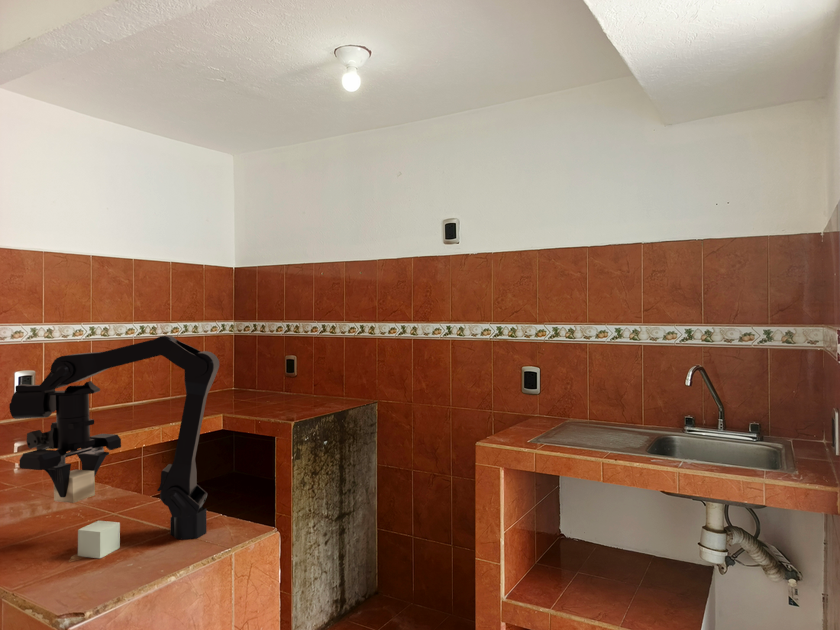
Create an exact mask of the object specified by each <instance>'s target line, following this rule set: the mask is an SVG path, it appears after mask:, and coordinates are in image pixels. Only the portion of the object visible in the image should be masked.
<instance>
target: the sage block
mask: <svg viewBox="0 0 840 630" xmlns="http://www.w3.org/2000/svg"><path fill="white" fill-rule="evenodd" d="M120 533H121V522H117V521H107V520H106V521H105V520H96V521H94V522H92V523H90V524H88V525H85V526H83V527H81V528H79V529H77V554H78V556H83V557H85V558H92V559H93V558H94V559H102V558H104V557H105V556H108V555H110V554H111V553H113V552H116V551H117V550H118V549H120V548H121V545H120V543H121V538H120V537H121V535H120Z"/></svg>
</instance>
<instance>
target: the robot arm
mask: <svg viewBox="0 0 840 630" xmlns="http://www.w3.org/2000/svg"><path fill="white" fill-rule="evenodd" d="M159 356H162V357H164V358H166V359H167V360H168V361H170V362H171V363H172V364H173V365H175V366H177V367H179V368H180V369H182V370H184V379H183V381H184V387H185V401H184V405H183V412H182V416H181V422H180V426H179V427H180V428H179V431H178V436H177V437H178V438H177V441H176V447H175V453H174V457H173V460H172V464H171V463H168V464H167V466H166V467H164V468H163V469H162V470H161V471H160V472H161V473H160V485H159V487H158V488H157V492H160V493H159V498H160V501H162V504H164V505H165V506H166V507H168V510H169V512H170V515H171V516H170V519H169V520H170V533H169V534H170V536H171V537H174V538H175V539H176V540H180V541H187V540H193V539H194V540H197V539H200V538H201V537H203V536H205V535H206V534H207V508H205V507H204V506H203V505H204V504H205V502H206V500H207V497H208V492H207V491H206V490H205V489H203V488H202V487H201V486H200V485H199V484H197V483H198V481H197V480H198V479H197V475H198V473H197V471H198V470H197V463H196V456H197V451H198V445H199V441H200V434H201V428H202V424H203V419H204V414H205V410H206V409H205V408H206V404H207V399H208V395H209V392H210V390H211V388H212V385H213V383H214V381H215V379H216V376H217V375H218V374H217V373H218V371H219V368H220V359H219V358H218V357H217V355H216V354H214V353H213V352H211V351H208V350H203V351H201V350H199V349H198V348H196V347H193V346H191V345H189V344H187V343H184V342H182V341H180V340H178V339H177V338H176V337H174V336H172V335H162V336H161V335H160V336H157V338H154V339H149V340H145V341H141V342H138V343H134V344H129V345H126V346H122V347H117V348H113V349H109V350H105V351H99V352H98V351H95V352H82V353H81V352H80V353H72V354H69V355H68V354H66V355H61V356H59V357H56V358H55V359H54V360H53V362H52V363H51V366H50V372H49V373H48V374H47V375H46V376H45V378H44V380H43V381H42V382H41V384H28V383H26V384H24V383H23V384H18V385H16V386H15V392H14V393H13V394H12V397H11V399H10V402H9V404H8V405H9V413H10V415H11V417H12V418H13V419H14V420H22V419H23V420H24V419H43V418H44V419H45V418H49V417H50V416H51V415H52V413H54V412H55V414H56V415H55V416H56V417H55V418H56V419H55V420H56V421H54V422H51V424H50V430H48V431H45V432H42V431H41V429H38V430H33V431H30V432H27V433H26V445H27V448H29V450H32V451H27V452H24V453H23V454H22V455H20V457H19V460H18V461H19V469H21V470H32V471H35V470H36V471H44V472H45V473H47V474H48V476H49V477H50V479H51V481H52V483H53V486H54V485H55V487H56V489H57V491H58V493H59V496H60V497H66V494H67V490H68V483H69V475H70V471H71V468H72V463H68V462H67V463H66V458H69V457H72V456H77V457H78V459H79V461H80V462H81V470H90V471H94V478H96V475H97V473H98V471H99V469H100V467H101V466H102V464H103V462H104V460H105V458H106V457H107V456H109V455H110V452H109V451H113V450H116V449H120V448H122V439H121V437H120V436H119V435H118V434H113V433H99V434H95V435H92V436H91V433H90V432H91V431H90V429H91V428H90V426H92V425H93V426H94V425H95V419H94V418H93V419H92V418H90V395H93V394H97V393H100V392H101V388H100V387H99V386H97V385H95V384H94V383H93V382H92V380H89V381H86V382H85V383H84V384H82V385H70V384H74V383H78V382H81V381H85V380H86V379H89V378H91V377H94V376H96V375H98V374H100V373H103V372H105V371H107V370H108V369H112V368H115V367H120V366H124V365H126V364H128V365H129V364H132V363H135V362H139V361H143V360H147V359H151V358H155V357H159ZM62 387H63V388H64V387H66V388H65V390H56V389H59V388H62ZM35 448H36V450H33V449H35ZM105 448H107V449H106V450H109V451H105Z"/></svg>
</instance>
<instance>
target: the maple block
mask: <svg viewBox="0 0 840 630" xmlns="http://www.w3.org/2000/svg"><path fill="white" fill-rule="evenodd" d="M95 485H96V484H95V477H94V471H90V470H82V469H73V470H70V475H69V483H68V490H67V494H66V497H60V496H59V493H58V491H57V489H56V487H55V485H54V484H53V501H54V502H61V503H69V504H75V503H77V502H79V501H83V500H85V499H89V498H90V497H93V496H96V492H95V491H96V489H95V487H96V486H95Z"/></svg>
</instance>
